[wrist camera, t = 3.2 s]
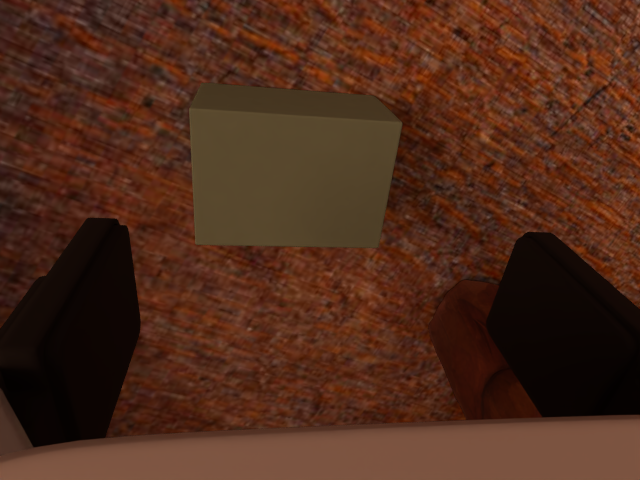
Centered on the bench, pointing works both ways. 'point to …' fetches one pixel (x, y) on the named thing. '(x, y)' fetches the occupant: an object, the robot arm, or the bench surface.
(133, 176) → the bench surface
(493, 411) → the wooden figurine
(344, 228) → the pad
